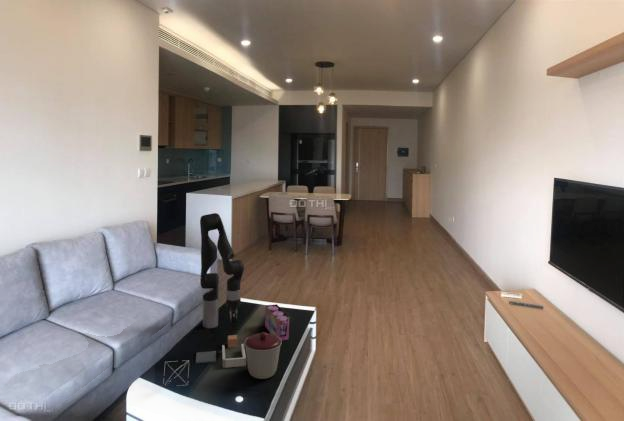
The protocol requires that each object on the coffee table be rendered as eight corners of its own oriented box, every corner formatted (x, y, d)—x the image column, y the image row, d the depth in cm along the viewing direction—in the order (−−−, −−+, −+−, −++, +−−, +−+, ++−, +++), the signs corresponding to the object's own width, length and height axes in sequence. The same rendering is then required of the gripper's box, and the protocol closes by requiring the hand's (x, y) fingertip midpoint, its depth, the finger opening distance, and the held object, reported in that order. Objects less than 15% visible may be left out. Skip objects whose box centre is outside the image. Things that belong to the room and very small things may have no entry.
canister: (265, 388, 184) (266, 344, 181) (235, 375, 193) (236, 334, 191) (288, 371, 199) (289, 330, 196) (259, 360, 209) (260, 321, 206)
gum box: (290, 340, 233) (290, 318, 231) (277, 342, 230) (277, 320, 228) (276, 324, 254) (277, 304, 253) (264, 326, 251) (265, 305, 249)
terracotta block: (227, 343, 226) (227, 335, 225) (236, 343, 227) (236, 334, 226) (228, 348, 221) (228, 339, 220) (237, 347, 222) (237, 338, 222)
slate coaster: (196, 354, 213) (196, 352, 213) (215, 352, 215) (215, 351, 215) (195, 363, 203) (195, 361, 203) (216, 361, 206) (216, 360, 206)
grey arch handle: (222, 352, 216) (222, 345, 215) (243, 350, 218) (243, 343, 218) (222, 367, 200) (222, 360, 200) (245, 365, 203) (246, 358, 202)
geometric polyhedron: (167, 392, 178) (167, 373, 177) (158, 381, 186) (158, 363, 185) (194, 383, 186) (194, 364, 185) (184, 373, 194) (184, 355, 193)
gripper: (225, 293, 220) (225, 322, 222) (226, 302, 206) (226, 333, 208) (239, 292, 221) (239, 321, 224) (241, 301, 208) (241, 332, 210)
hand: (233, 327), depth 216 cm, fingers open, 6 cm apart
